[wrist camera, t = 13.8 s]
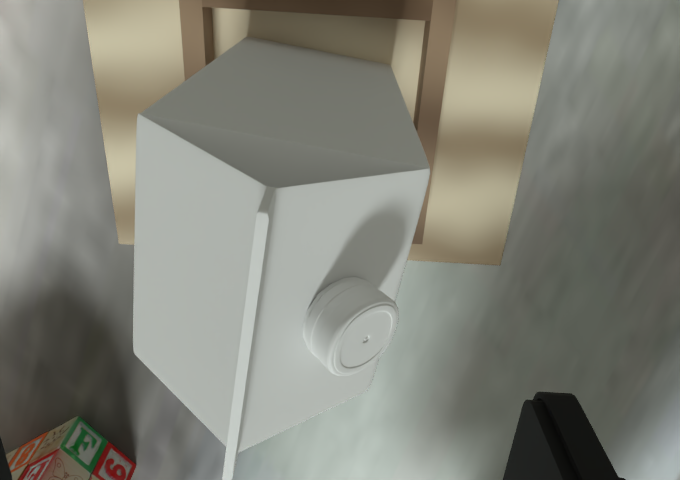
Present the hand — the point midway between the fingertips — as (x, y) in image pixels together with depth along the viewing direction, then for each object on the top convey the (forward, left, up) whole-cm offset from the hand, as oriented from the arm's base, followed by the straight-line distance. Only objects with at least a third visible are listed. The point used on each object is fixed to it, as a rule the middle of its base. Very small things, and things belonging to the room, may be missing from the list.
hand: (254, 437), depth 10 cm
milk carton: (0, +1, -21) cm, 21 cm away
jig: (0, 0, -22) cm, 22 cm away
